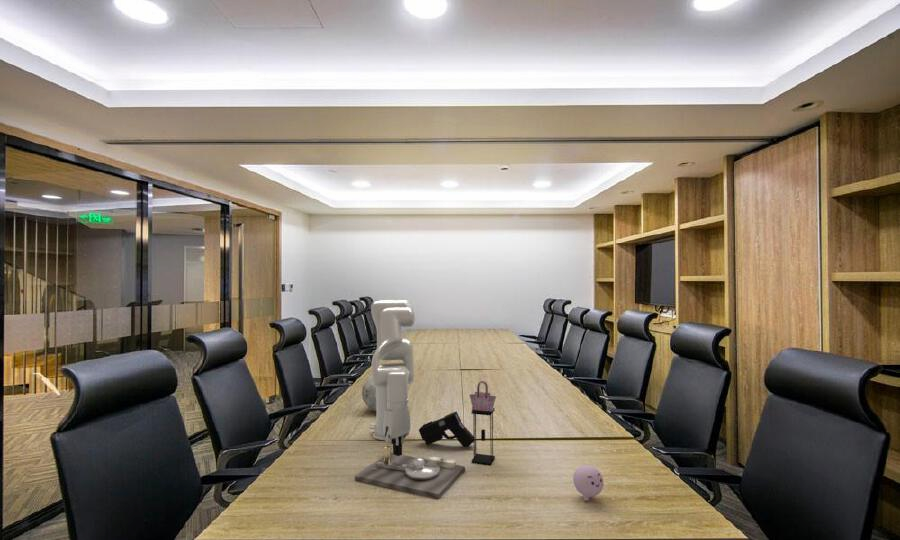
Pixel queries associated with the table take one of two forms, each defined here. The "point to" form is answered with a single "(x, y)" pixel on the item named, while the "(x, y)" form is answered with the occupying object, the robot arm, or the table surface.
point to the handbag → (482, 406)
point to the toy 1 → (449, 422)
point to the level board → (404, 483)
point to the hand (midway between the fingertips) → (397, 454)
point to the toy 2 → (588, 481)
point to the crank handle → (412, 466)
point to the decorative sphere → (369, 393)
